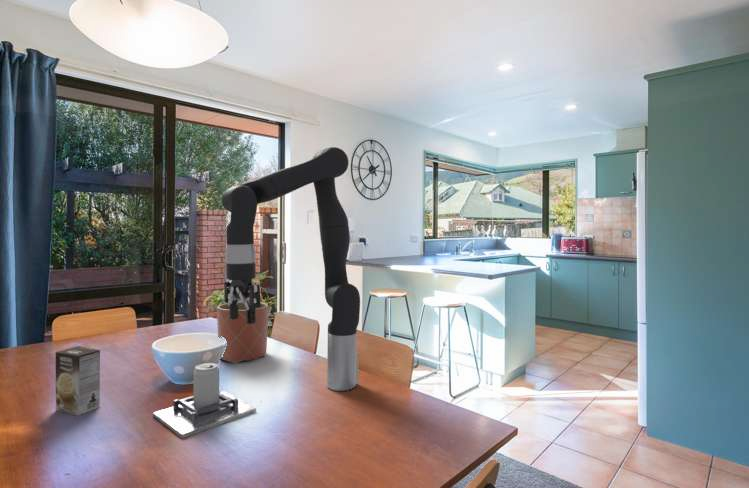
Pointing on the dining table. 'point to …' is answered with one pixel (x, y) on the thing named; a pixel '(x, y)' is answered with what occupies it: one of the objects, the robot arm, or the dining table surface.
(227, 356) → the planter
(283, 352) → the dining table surface
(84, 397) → the coffee box
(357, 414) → the dining table surface
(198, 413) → the collar stand
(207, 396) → the beverage can
